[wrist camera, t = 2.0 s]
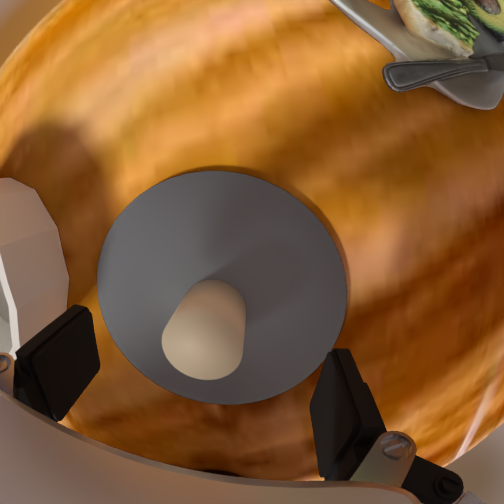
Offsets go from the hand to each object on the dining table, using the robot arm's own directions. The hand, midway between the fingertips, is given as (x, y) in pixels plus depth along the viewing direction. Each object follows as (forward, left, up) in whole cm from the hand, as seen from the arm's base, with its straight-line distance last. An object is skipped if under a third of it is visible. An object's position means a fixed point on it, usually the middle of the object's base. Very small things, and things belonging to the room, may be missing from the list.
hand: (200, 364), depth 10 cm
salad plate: (+25, +8, -7) cm, 27 cm away
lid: (-1, 0, -7) cm, 7 cm away
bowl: (-13, +12, -6) cm, 18 cm away
